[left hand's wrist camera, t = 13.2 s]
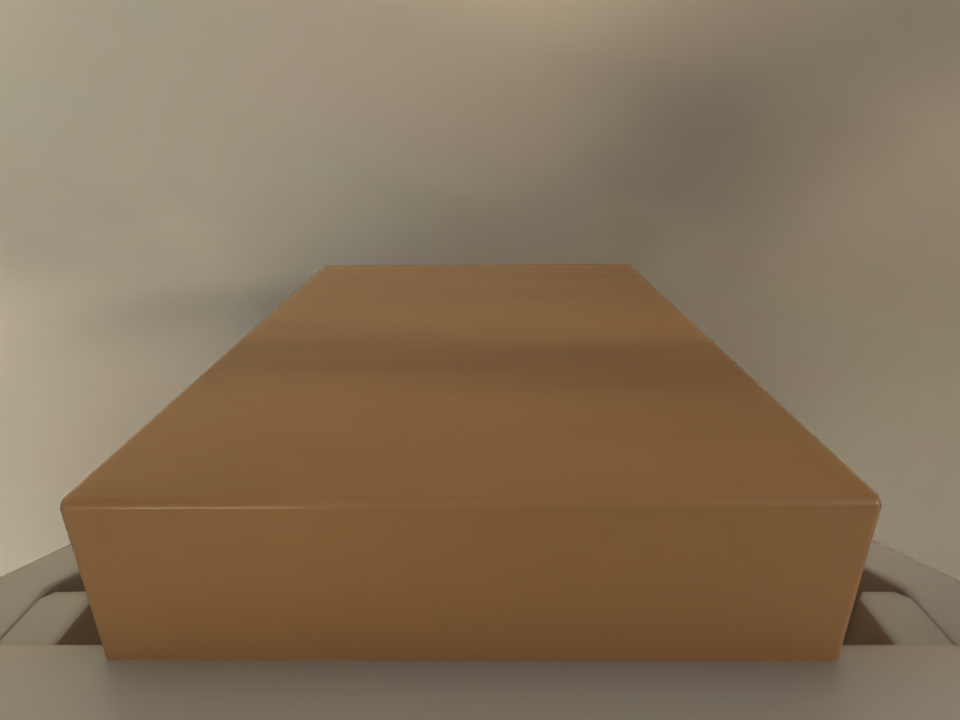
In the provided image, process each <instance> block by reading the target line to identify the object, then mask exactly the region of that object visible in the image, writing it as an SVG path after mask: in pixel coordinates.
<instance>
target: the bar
mask: <svg viewBox="0 0 960 720" xmlns="http://www.w3.org/2000/svg"><path fill="white" fill-rule="evenodd" d="M880 509H881V500H880V498H879V496H878V495H877V494H876V493H875V492H874V491H873V490H872V489H871V488H870V487H869V486H868V485H867V484H865V483H864V482H863V481H862V480H861V479H860V478H859V477H858V476H857V475H856V474H855V473H854V472H853V471H851V470H850V469H849V468H848V467H847V466H846V465H845V464H844V463H843V462H842V461H841V460H840V459H839V458H837V457H836V456H835V455H834V454H833V453H832V452H831V451H830V450H829V449H828V448H827V447H826V446H824V445H823V444H822V443H821V442H820V441H819V440H818V439H817V438H816V437H815V436H814V435H813V434H812V433H810V432H809V431H808V430H807V429H806V428H805V427H804V426H803V425H802V424H801V423H800V422H799V421H798V420H796V419H795V418H794V417H793V416H792V415H791V414H790V413H789V412H788V411H787V410H786V409H785V408H784V407H782V406H781V405H780V404H779V403H778V402H777V401H776V400H775V399H774V398H773V397H772V396H771V395H770V394H768V393H767V392H766V391H765V390H764V389H763V388H762V387H761V386H760V385H759V384H758V383H757V382H756V381H754V380H753V379H752V378H751V377H750V376H749V375H748V374H747V373H746V372H745V371H744V370H743V369H742V368H740V367H739V366H738V365H737V364H736V363H735V362H734V361H733V360H732V359H731V358H730V357H729V356H728V355H726V354H725V353H724V352H723V351H722V350H721V349H720V348H719V347H718V346H717V345H716V344H715V343H714V342H712V341H711V340H710V339H709V338H708V337H707V336H706V335H705V334H704V333H703V332H702V331H701V330H699V329H698V328H697V327H696V326H695V325H694V324H693V323H692V322H691V321H690V320H689V319H688V318H687V317H685V316H684V315H683V314H682V313H681V312H680V311H679V310H678V309H677V308H676V307H675V306H674V305H673V304H671V303H670V302H669V301H668V300H667V299H666V298H665V297H664V296H663V295H662V294H661V293H660V292H659V291H657V290H656V289H655V288H654V287H653V286H652V285H651V284H650V283H649V282H648V281H647V280H646V279H645V278H643V277H642V276H641V275H640V274H639V273H638V272H637V271H636V270H635V269H634V268H633V267H632V266H631V265H629V264H522V265H337V266H325V267H323V268H322V269H321V270H320V271H319V272H318V273H316V274H315V275H314V276H313V277H312V278H311V279H310V280H309V281H307V282H306V283H305V284H304V285H303V286H302V287H301V288H300V289H298V290H297V291H296V292H295V293H294V294H293V295H292V296H291V297H289V298H288V299H287V300H286V301H285V302H284V303H283V304H282V305H280V306H279V307H278V308H277V309H276V310H275V311H274V312H273V313H271V314H270V315H269V316H268V317H267V318H266V319H265V320H264V321H262V322H261V323H260V324H259V325H258V326H257V327H256V328H255V329H253V330H252V331H251V332H250V333H249V334H248V335H247V336H246V337H244V338H243V339H242V340H241V341H240V342H239V343H238V344H237V345H235V346H234V347H233V348H232V349H231V350H230V351H229V352H228V353H226V354H225V355H224V356H223V357H222V358H221V359H220V360H219V361H217V362H216V363H215V364H214V365H213V366H212V367H211V368H210V369H208V370H207V371H206V372H205V373H204V374H203V375H202V376H201V377H199V378H198V379H197V380H196V381H195V382H194V383H193V384H192V385H190V386H189V387H188V388H187V389H186V390H185V391H184V392H183V393H181V394H180V395H179V396H178V397H177V398H176V399H175V400H174V401H172V402H171V403H170V404H169V405H168V406H167V407H166V408H165V409H163V410H162V411H161V412H160V413H159V414H158V415H157V416H156V417H154V418H153V419H152V420H151V421H150V422H149V423H148V424H147V425H145V426H144V427H143V428H142V429H141V430H140V431H139V432H138V433H136V434H135V435H134V436H133V437H132V438H131V439H130V440H129V441H127V442H126V443H125V444H124V445H123V446H122V447H121V448H120V449H118V450H117V451H116V452H115V453H114V454H113V455H112V456H111V457H109V458H108V459H107V460H106V461H105V462H104V463H103V464H102V465H100V466H99V467H98V468H97V469H96V470H95V471H94V472H93V473H91V474H90V475H89V476H88V477H87V478H86V479H85V480H84V481H82V482H81V483H80V484H79V485H78V486H77V487H76V488H75V489H73V490H72V491H71V492H70V493H69V494H68V495H67V496H66V497H64V498H63V500H62V502H61V507H60V510H61V513H62V517H63V520H64V523H65V526H66V530H67V533H68V536H69V539H70V543H71V546H72V549H73V552H74V555H75V559H76V562H77V565H78V568H79V572H80V575H81V578H82V581H83V584H84V588H85V591H86V594H87V597H88V601H89V604H90V607H91V610H92V614H93V617H94V620H95V623H96V626H97V630H98V633H99V636H100V639H101V643H102V646H103V649H104V652H105V656H106V658H108V659H110V660H667V661H834V660H837V659H838V658H839V654H840V651H841V647H842V644H843V640H844V637H845V633H846V630H847V626H848V622H849V619H850V615H851V612H852V608H853V605H854V601H855V598H856V594H857V591H858V587H859V583H860V580H861V576H862V573H863V569H864V566H865V562H866V559H867V555H868V551H869V548H870V544H871V541H872V537H873V534H874V530H875V527H876V523H877V520H878V516H879V512H880Z"/></svg>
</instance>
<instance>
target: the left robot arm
mask: <svg viewBox="0 0 960 720" xmlns="http://www.w3.org/2000/svg"><path fill="white" fill-rule="evenodd" d="M0 720H960V581H958V580H956V579H953V578H951V577H949V576H947V575H945V574H943V573H941V572H939V571H937V570H935V569H932V568H930V567H928V566H926V565H924V564H922V563H920V562H918V561H916V560H914V559H912V558H909V557H907V556H905V555H903V554H901V553H899V552H897V551H895V550H893V549H891V548H889V547H886V546H884V545H882V544H880V543H878V542H876V541H874V540H872V541H871V544H870V548H869V551H868V555H867V559H866V562H865V566H864V569H863V573H862V576H861V580H860V583H859V587H858V591H857V594H856V598H855V601H854V605H853V608H852V612H851V615H850V619H849V622H848V626H847V630H846V633H845V637H844V640H843V644H842V647H841V651H840V654H839V658H838V659H837V660H834V661H667V660H110V659H108V658H106V656H105V652H104V649H103V646H102V643H101V639H100V636H99V633H98V630H97V626H96V623H95V620H94V617H93V614H92V610H91V607H90V604H89V601H88V597H87V594H86V591H85V588H84V584H83V581H82V578H81V575H80V572H79V568H78V565H77V562H76V559H75V555H74V552H73V549H72V546H71V544H70V545H68V546H66V547H64V548H61V549H59V550H57V551H55V552H53V553H51V554H49V555H47V556H44V557H42V558H40V559H38V560H36V561H34V562H32V563H30V564H28V565H25V566H23V567H21V568H19V569H17V570H15V571H13V572H11V573H8V574H6V575H4V576H2V577H0Z"/></svg>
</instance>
